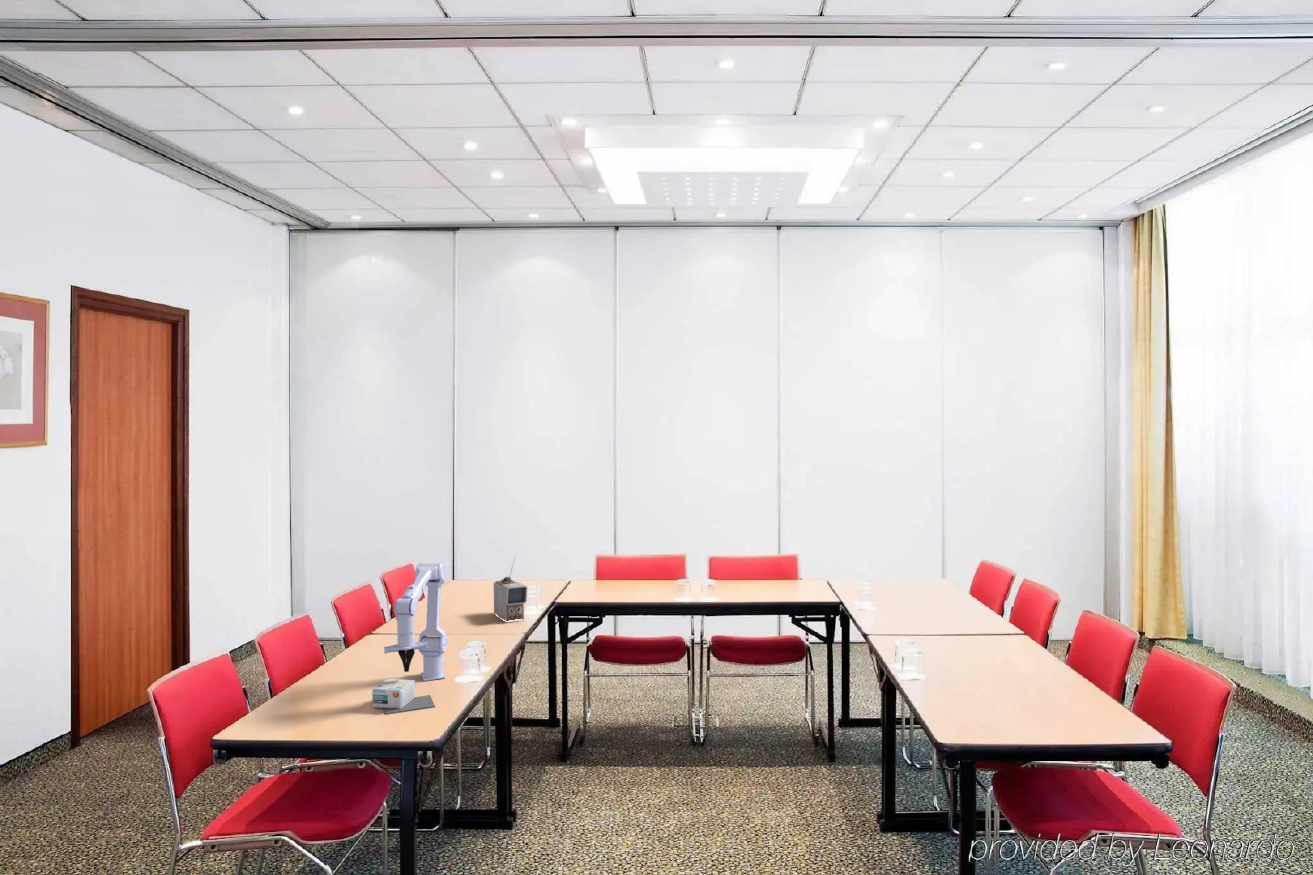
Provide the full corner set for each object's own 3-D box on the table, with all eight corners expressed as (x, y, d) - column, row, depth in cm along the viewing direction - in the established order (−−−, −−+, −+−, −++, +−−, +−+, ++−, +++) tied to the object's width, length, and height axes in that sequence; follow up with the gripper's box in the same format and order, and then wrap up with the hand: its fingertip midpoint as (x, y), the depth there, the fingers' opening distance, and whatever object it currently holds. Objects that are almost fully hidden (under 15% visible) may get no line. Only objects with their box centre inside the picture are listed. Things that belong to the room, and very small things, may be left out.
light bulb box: (387, 696, 273) (371, 708, 263) (387, 677, 273) (371, 688, 262) (415, 698, 272) (400, 709, 261) (415, 679, 271) (400, 690, 261)
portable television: (507, 625, 374) (506, 563, 374) (492, 614, 395) (492, 556, 394) (530, 621, 380) (530, 561, 379) (515, 611, 401) (514, 554, 400)
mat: (382, 703, 268) (382, 701, 268) (430, 696, 275) (430, 695, 275) (385, 714, 257) (385, 713, 257) (434, 707, 264) (434, 706, 264)
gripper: (385, 637, 264) (385, 677, 264) (428, 632, 270) (429, 671, 270) (383, 632, 271) (383, 671, 271) (426, 628, 277) (426, 665, 277)
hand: (406, 671), depth 271 cm, fingers closed
